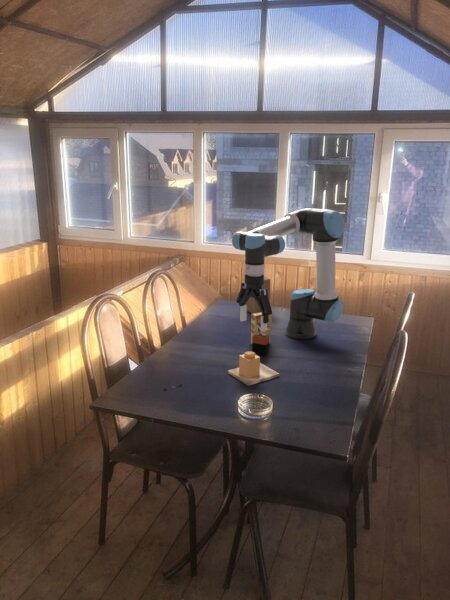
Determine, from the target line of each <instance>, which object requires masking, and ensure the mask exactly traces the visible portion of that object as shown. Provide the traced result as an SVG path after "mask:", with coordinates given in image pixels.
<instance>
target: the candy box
mask: <svg viewBox="0 0 450 600" xmlns="http://www.w3.org/2000/svg"><path fill="white" fill-rule="evenodd" d="M250 315H251V316H250V317H251V321H250V325H251V326H250V327H251V328H250V344H251V345H252V336H253V335H254V334H255V333H256V332H258V333H260V334H262V333H266V334H267V335H269V344H271V337H272V335H271V334H272V333H271V331H272V330H271V329H272V314H271V315H268V323H267V330H266V331H261V315H262V312H259V313H251V314H250Z"/></svg>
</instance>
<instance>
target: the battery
mask: <svg viewBox="0 0 450 600" xmlns="http://www.w3.org/2000/svg"><path fill="white" fill-rule="evenodd" d="M269 349H270V343H269V335H267V334H266V333H262V334H260V333H258V332H256V333H255V334H254V335H253V336H252V344H251V352H254V353H255V355H257V356H259V357H260V356H261V357H266V356H268V354H269V351H270V350H269Z"/></svg>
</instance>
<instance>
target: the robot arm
mask: <svg viewBox="0 0 450 600" xmlns="http://www.w3.org/2000/svg"><path fill="white" fill-rule="evenodd" d="M344 229H345V220H344V217H343V215H342V214H341V213H340V212H339V211H337V210H333V209H327V208H326V209H324V208H313V207H305V208H301V209H298V210H294V211H291V212H289V213H286V214H285V215H284V216H283V217H282V218H280V219H277V220H275V221H272V222H269V223H267V224H264V225H261V226H258V227H256V228H253V229H251V230H248V231H243V230H242V231H240V230H239V231H236V232H235V233H234V234H233V236H232V239H231V241H232V242H231V243H232V244H231V245H232V246H233V248H235V250H240V251H244V273H245V274H244V282H241V284H240V290H239V292H238V295H237V298H236V303H237V304H238V306H239V322H245V321H247V312H248V311H247V305H246V302H247V301H248V299H249V298H250V297H253V298H255V300H256V301H257V303H258V305H259V308H260V310H261V312H262V315H261V331H266V330H267V323H268V315H271V316H272V315H273V311H272V306H271V303H270V302H269V298H268V291H267V289H265V290H263V289H262V285H263V284H264V277H265V258H266V257H271V256H274V255H275V256H276V255H278V254H281V253H283V252H284V250H285V248H286V242H285V241H286V240H285V239H284V236H286V235H296V234H297V233H298V234H300V233H302V234H308V235H312V241H313V242H314V243H315V253H316V254H315V255H316V257H315V258H316V261H315V262H316V263H315V264H316V290H314V289H312V288H300V289H296V290H293V291H292V292H291V295H290V310H289V320H288V321H287V322H288V323H287V326H286V328H285V335H286V336H287V337H290V338H292V339H295V340H296V339H297V340H308V339H313V338H315V337H316V335H317V330H316V327H315V322H314V319H315V320H319V321H322V322H325V323H330V324H331V323H332V324H334V323H336V322H338V321H339V319H340V318H341V316H342V314H343V312H344V308H345V307H344V306H345V304H344V301H343V300H341V299H339V297H340V296H339V295H340V293H339V292H338V291H337V290H336V243H337V242H339V240H340V239H339V238H340V237H342V235H343V233H344ZM259 296H260V297H259ZM264 311H265V312H264Z"/></svg>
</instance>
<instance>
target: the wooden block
mask: <svg viewBox="0 0 450 600" xmlns="http://www.w3.org/2000/svg"><path fill="white" fill-rule="evenodd" d="M262 289H263V290H265V289H267V291H268V298H269V302H270V298H271V292H270V291H271V279H270V278H268V277H265V276H264V284H263V285H262ZM259 297H260V296H259ZM245 305H247V312H248V313H251V314H252V313H259V312H261V310H260V308H259V305H258V303H257V301H256V300H255V298H253V297H250V298H249V299H248V301H247V302H246V304H245ZM264 312H265V311H264Z"/></svg>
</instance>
